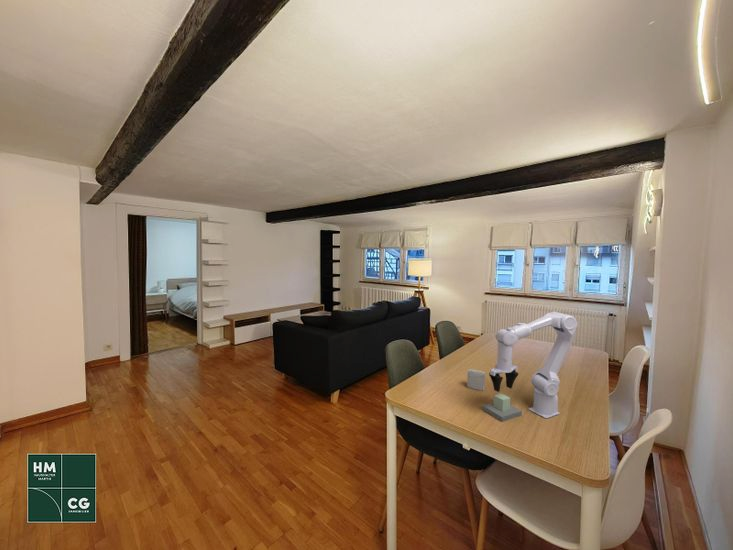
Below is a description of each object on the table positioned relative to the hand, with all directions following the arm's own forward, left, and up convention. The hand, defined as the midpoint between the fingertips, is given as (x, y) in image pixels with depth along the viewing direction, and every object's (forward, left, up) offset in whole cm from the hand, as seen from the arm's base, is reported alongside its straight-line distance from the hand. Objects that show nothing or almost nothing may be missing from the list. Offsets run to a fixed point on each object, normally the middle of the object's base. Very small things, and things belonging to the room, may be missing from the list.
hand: (502, 389), depth 122 cm
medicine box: (-8, -22, -11) cm, 26 cm away
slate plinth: (0, 0, -10) cm, 10 cm away
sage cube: (0, 0, -8) cm, 8 cm away
